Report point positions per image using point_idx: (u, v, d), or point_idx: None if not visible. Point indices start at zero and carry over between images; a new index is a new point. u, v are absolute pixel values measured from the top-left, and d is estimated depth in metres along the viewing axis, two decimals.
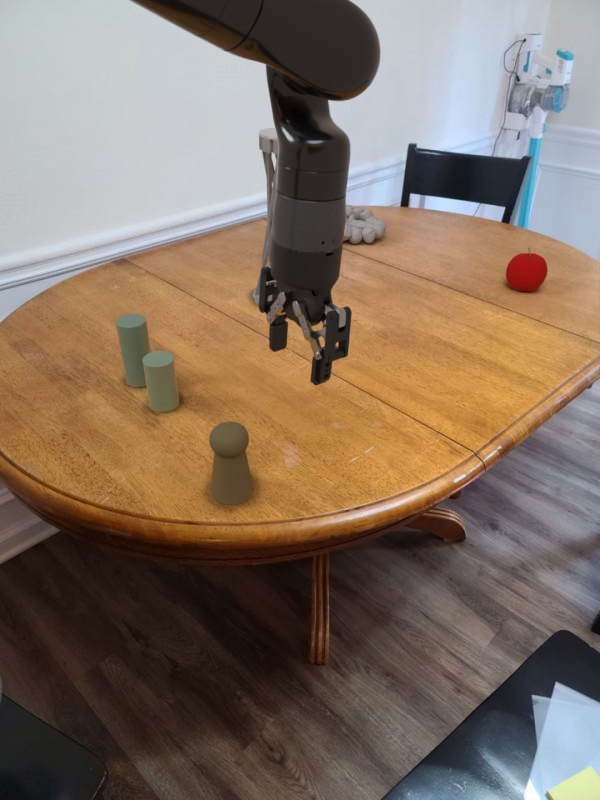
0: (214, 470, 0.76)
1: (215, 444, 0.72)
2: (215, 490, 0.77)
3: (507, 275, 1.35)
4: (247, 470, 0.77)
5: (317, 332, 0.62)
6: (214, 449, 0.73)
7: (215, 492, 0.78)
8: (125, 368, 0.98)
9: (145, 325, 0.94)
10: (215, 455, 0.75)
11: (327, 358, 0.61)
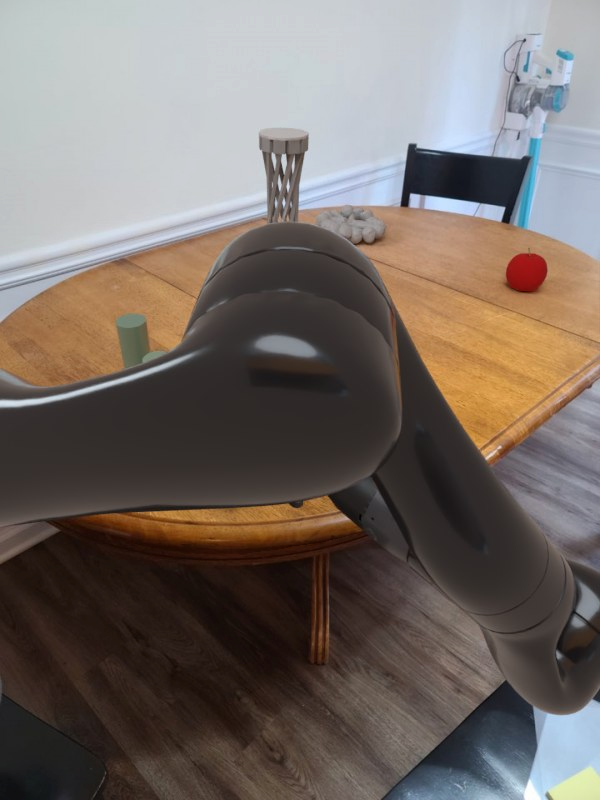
0: None
1: None
2: None
3: (507, 275, 1.35)
4: None
5: None
6: None
7: None
8: (125, 368, 0.98)
9: (145, 325, 0.94)
10: None
11: None
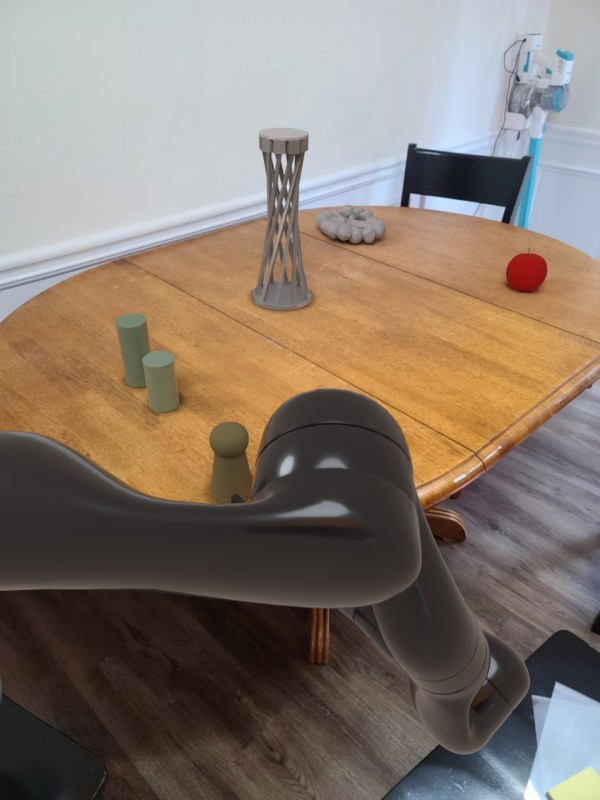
0: (214, 470, 0.76)
1: (215, 444, 0.72)
2: (215, 490, 0.77)
3: (507, 275, 1.35)
4: (247, 470, 0.77)
5: None
6: (214, 449, 0.73)
7: (215, 492, 0.78)
8: (125, 368, 0.98)
9: (145, 325, 0.94)
10: (215, 455, 0.75)
11: None
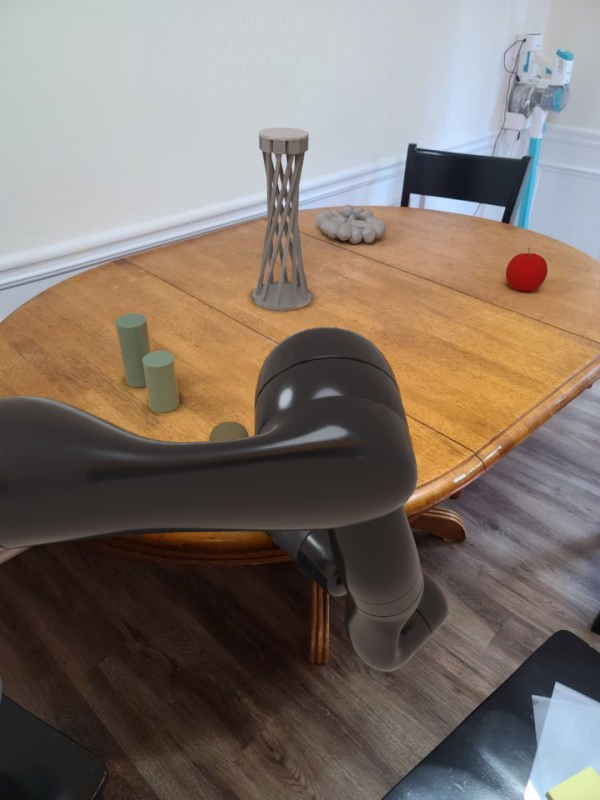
0: None
1: None
2: None
3: (507, 275, 1.35)
4: None
5: None
6: None
7: None
8: (125, 368, 0.98)
9: (145, 325, 0.94)
10: None
11: None
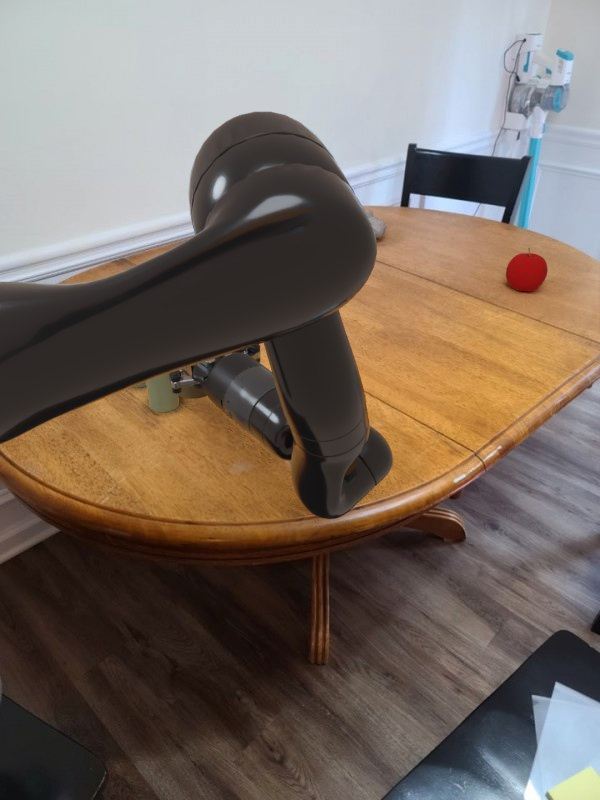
0: None
1: None
2: None
3: (507, 275, 1.35)
4: None
5: None
6: None
7: None
8: None
9: None
10: None
11: None
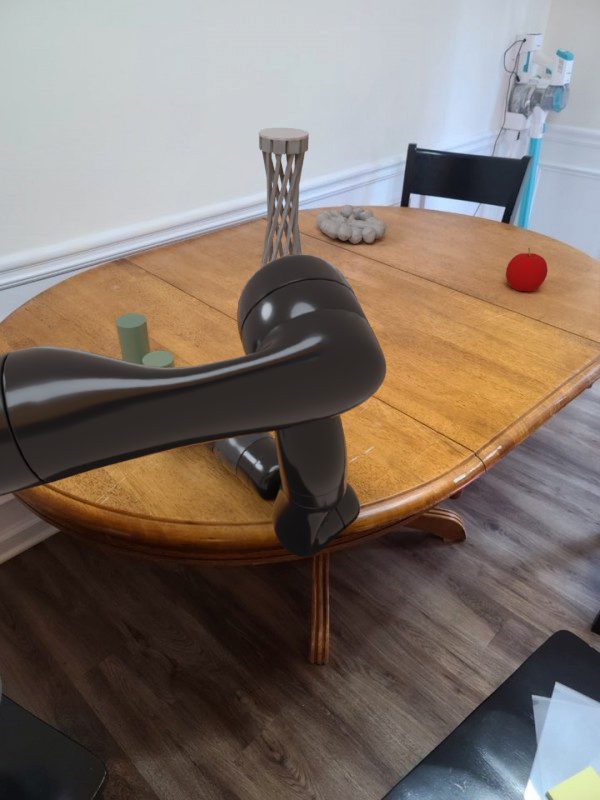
0: None
1: None
2: None
3: (507, 275, 1.35)
4: None
5: None
6: None
7: None
8: None
9: (145, 325, 0.94)
10: None
11: None
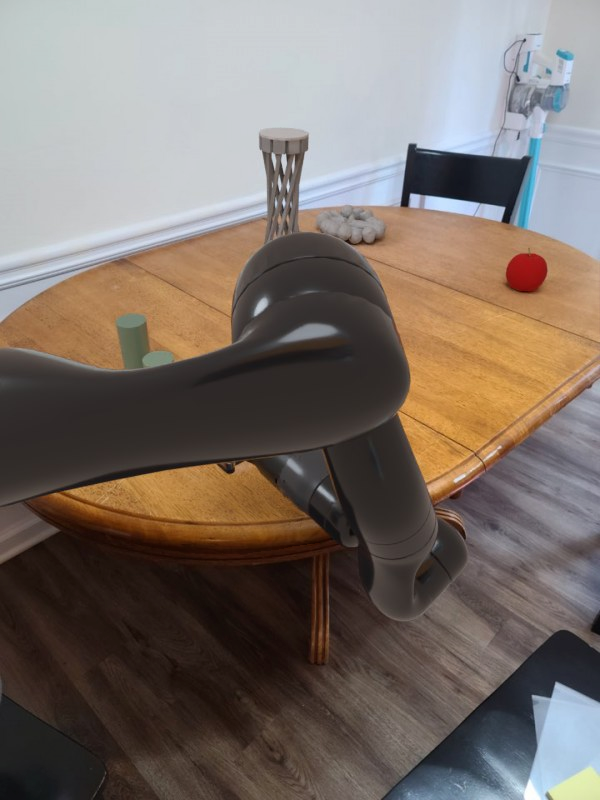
0: None
1: None
2: None
3: (507, 275, 1.35)
4: None
5: None
6: None
7: None
8: (125, 368, 0.98)
9: (145, 325, 0.94)
10: None
11: None
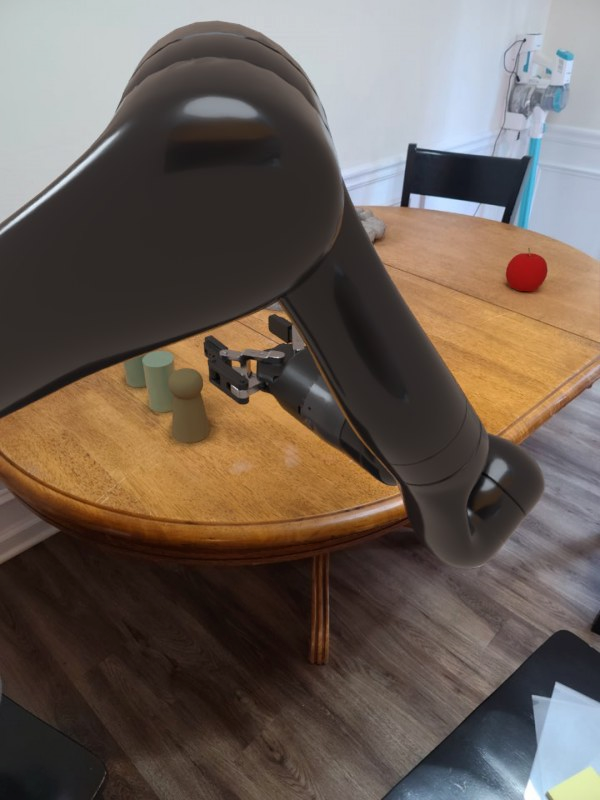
0: (173, 411, 0.86)
1: (172, 386, 0.83)
2: (175, 430, 0.88)
3: (507, 275, 1.35)
4: (203, 412, 0.87)
5: (244, 363, 0.57)
6: (171, 390, 0.83)
7: (175, 432, 0.88)
8: (125, 368, 0.98)
9: None
10: (173, 397, 0.85)
11: (212, 359, 0.56)
